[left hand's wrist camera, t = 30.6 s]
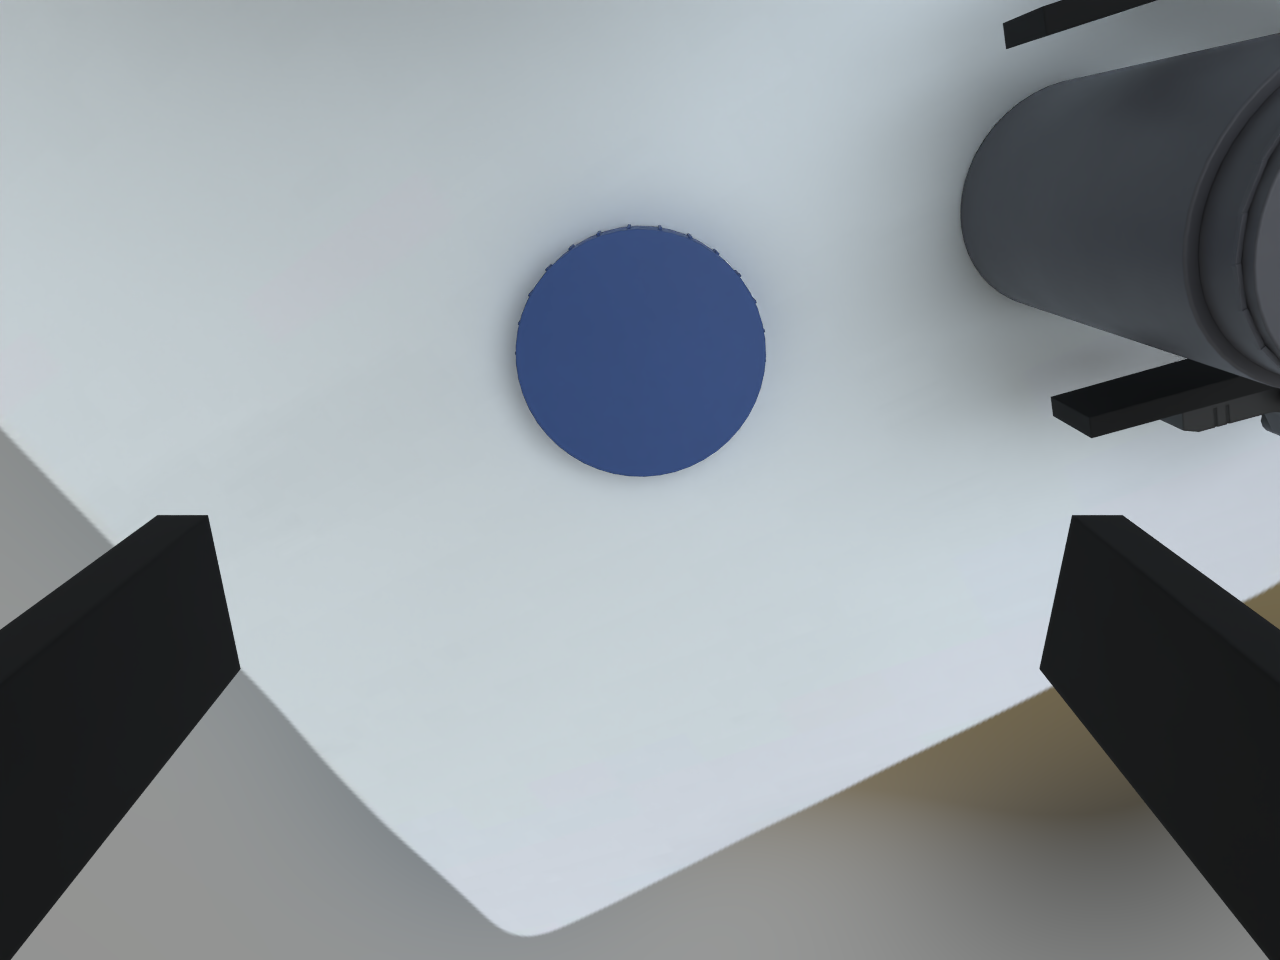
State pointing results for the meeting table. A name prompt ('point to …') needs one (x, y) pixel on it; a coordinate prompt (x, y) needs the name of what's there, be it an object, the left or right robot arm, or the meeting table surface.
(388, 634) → the meeting table surface
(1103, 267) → the jar
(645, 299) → the lid
